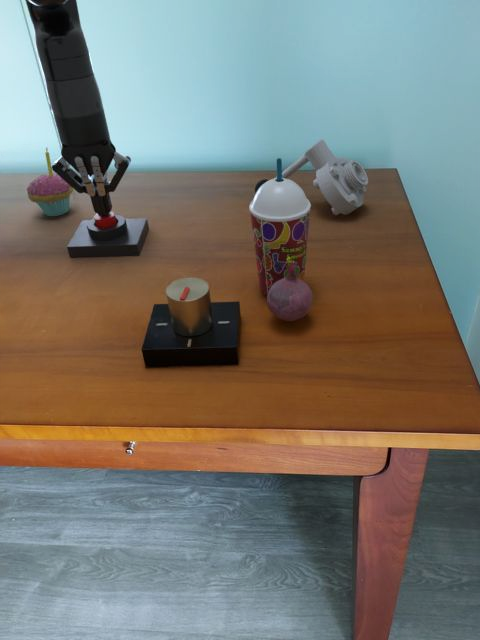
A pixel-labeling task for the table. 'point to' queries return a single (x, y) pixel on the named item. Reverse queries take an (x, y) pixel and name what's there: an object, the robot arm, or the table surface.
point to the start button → (105, 220)
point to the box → (109, 239)
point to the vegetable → (290, 296)
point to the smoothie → (279, 229)
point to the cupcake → (50, 192)
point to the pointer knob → (190, 306)
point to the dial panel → (193, 339)
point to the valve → (332, 178)
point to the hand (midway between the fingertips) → (104, 214)
